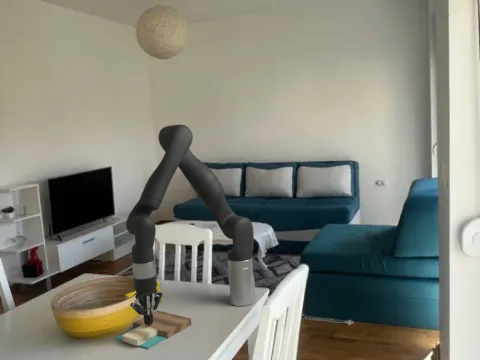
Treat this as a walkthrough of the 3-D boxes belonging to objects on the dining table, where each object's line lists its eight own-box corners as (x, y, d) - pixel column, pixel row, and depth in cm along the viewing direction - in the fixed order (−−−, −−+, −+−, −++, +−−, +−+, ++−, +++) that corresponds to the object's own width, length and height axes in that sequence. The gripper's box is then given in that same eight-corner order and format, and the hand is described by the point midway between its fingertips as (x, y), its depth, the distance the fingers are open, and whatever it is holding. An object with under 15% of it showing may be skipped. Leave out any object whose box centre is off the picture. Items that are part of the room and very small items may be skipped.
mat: (133, 329, 164) (133, 328, 164) (165, 338, 156) (165, 337, 156) (115, 339, 158) (115, 337, 158) (148, 349, 149) (148, 347, 149)
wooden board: (157, 316, 175) (157, 310, 174) (191, 324, 166) (190, 318, 165) (133, 329, 165) (132, 322, 165) (167, 338, 156) (167, 332, 156)
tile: (142, 330, 162) (142, 324, 162) (157, 334, 158) (157, 328, 158) (122, 341, 155) (121, 335, 154) (137, 346, 151) (137, 340, 150)
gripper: (137, 282, 150) (142, 334, 152) (166, 269, 161) (170, 319, 163) (121, 278, 155) (126, 330, 157) (150, 267, 165) (154, 315, 167)
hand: (149, 324), depth 160 cm, fingers closed
